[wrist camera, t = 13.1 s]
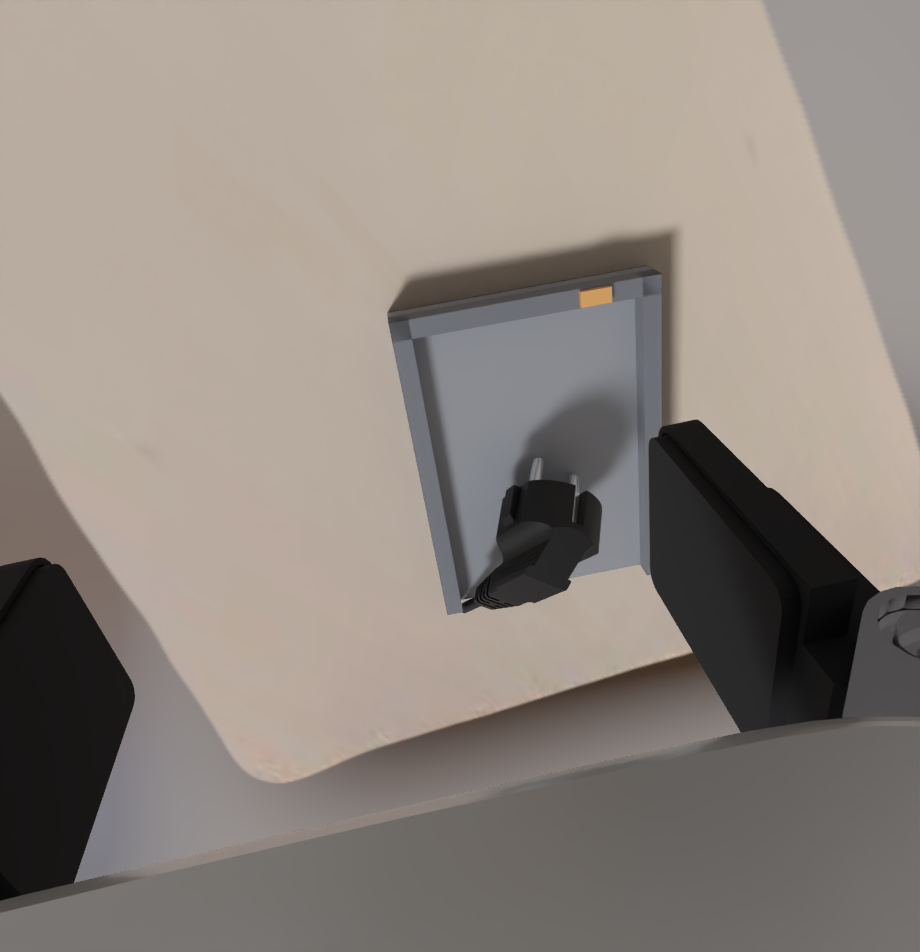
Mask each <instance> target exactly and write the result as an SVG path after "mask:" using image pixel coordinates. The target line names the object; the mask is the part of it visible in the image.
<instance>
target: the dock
mask: <svg viewBox="0 0 920 952" xmlns="http://www.w3.org/2000/svg"><path fill="white" fill-rule="evenodd" d="M387 315H388V323H389V328H390V333H391V338H392V343H393V348H394V353H395V358H396V363H397V368H398V372H399V377H400V382H401V387H402V392H403V397H404V402H405V407H406V412H407V417H408V422H409V427H410V432H411V437H412V442H413V447H414V452H415V457H416V462H417V467H418V471H419V476H420V481H421V486H422V491H423V496H424V501H425V506H426V511H427V516H428V521H429V526H430V531H431V536H432V541H433V546H434V551H435V556H436V561H437V565H438V570H439V575H440V580H441V585H442V590H443V595H444V600H445V605H446V610H447V615H450V614H455V613H460V612H463V609H462V604H461V600H463V599H468V598H473V597H475V592H476V588H477V587H478V586H479V585H480V584H481V583H482V582H483V581H484V580H485V579H486V578H487V577H488V576H489V575H490V574H491V573H492V572H493V571H494V570H495V569H496V568H497V567H498V566H499V565H501V564H502V562H503V556H502V553H501V551H500V549H499V547H498V544H497V542H496V535H497V529H498V523H499V517H500V511H501V506H502V500H503V498H504V497H505V494H506V490H507V489H509V488H510V487H511V486H513V485H517V486H519V487H520V486H522V485H523V484H525V483H526V482H528V481H529V476H530V469H531V463H532V459H533V458H534V457H535V456H541V457H543V458H544V460H545V465H544V473H543V480H555V481H561V482H566V483H567V477H568V475H569V474H570V473H573V472H575V473H578V474H579V476H580V487H579V493H583V492H585V491H589V492H590V493H592V494H593V495H594V496H595V497H596V498H597V499H598V500H599V501H600V503H601V505H602V519H601V531H600V543H599V552H598V554H596V555H594V556H592V557H590V558H588V559H586V560H583V561H581V562H579V563H578V564H577V566H576V567H575V569H574V571H573V572H572V574H571V576H570V577H569V578H573V577H578V576H583V575H588V574H593V573H598V572H604V571H609V570H614V569H619V568H624V567H629V566H634V565H639V564H640V565H641V566H642V568H643V570H644V571H645V573H646V574H647V575H650V574H651V572H650V529H649V451H648V448H649V441H650V439H651V438H654V437H658V434H659V430H660V428H661V427H662V274H661V273H659V272H657V271H656V270H654V269H652V268H650V267H648V266H644V267H638V268H633V269H627V270H622V271H616V272H611V273H605V274H600V275H594V276H589V277H583V278H578V279H572V280H566V281H561V282H555V283H550V284H544V285H539V286H533V287H528V288H522V289H517V290H511V291H506V292H500V293H495V294H489V295H484V296H478V297H473V298H467V299H461V300H456V301H450V302H445V303H439V304H434V305H428V306H423V307H417V308H412V309H406V310H401V311H395V312H390V313H387Z"/></svg>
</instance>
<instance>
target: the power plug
mask: <svg viewBox="0 0 920 952" xmlns="http://www.w3.org/2000/svg"><path fill="white" fill-rule="evenodd" d="M544 465H545V460H544V458H543V457H541V456H535V457H534V458H533V459H532V463H531V469H530V476H529V481H528V482H526V483H525V484H523V485H522V486H520V487H519V486H517V485H513V486H511V487H510V488H509V489H507V490H506V494H505V497H504V498H503V500H502V506H501V511H500V517H499V523H498V529H497V535H496V542H497V544H498V547H499V549H500V551H501V553H502V556H503V562H502V564H501V565H499V566H498V567H497V568H496V569H495V570H494V571H493V572H492V573H491V574H490V575H489V576H488V577H487V578H486V579H485V580H484V581H483V582H482V583H481V584H480V585H479V586H478V587H477V588H476V592H475V597H474V598H472V599H470V600H468V601H466V602H464V603H462V609H463V612H462V613H467V612H469V611H471V610H473V609H475V608H478V607H480V606H483V607H485V608H488V609H491V610H493V609H500V608H507V607H513V606H519V605H522V604H524V603H527V602H533V603H536V602H538V601H541V600H543V599H546V598H548V597H550V596H553V595H555V594H558V593H560V592H563V591H565V590H567V588H568V587H569V585H570V583H571V581H570V580H568V579H569V577H570V576H571V574H572V572H573V571H574V569H575V567H576V566H577V564H578V563H579V562H581V561H583V560H586V559H588V558H590V557H592V556H594V555H596V554H598V552H599V543H600V531H601V519H602V505H601V503H600V501H599V500H598V499H597V498H596V497H595V496H594V495H593V494H592V493H590V492H589V491H585V492H583V493H579V487H580V476H579V474H578V473H575V472H573V473H570V474H569V475H568V477H567V483H566V482H561V481H555V480H543V473H544Z"/></svg>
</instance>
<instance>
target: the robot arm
mask: <svg viewBox="0 0 920 952" xmlns="http://www.w3.org/2000/svg"><path fill="white" fill-rule="evenodd" d="M648 451H649V529H650V572H651V577H652V581H653V584H654V586H655V588H656V590H657V592H658V594H659V595H660V597H661V599H662V601H663V602H664V604H665V606H666V607H667V609H668V611H669V612H670V614H671V616H672V617H673V619H674V621H675V622H676V624H677V626H678V627H679V629H680V631H681V632H682V634H683V636H684V637H685V639H686V641H687V643H688V644H689V646H690V648H691V649H692V651H693V653H694V654H695V656H696V658H697V659H698V661H699V663H700V664H701V666H702V668H703V669H704V671H705V673H706V674H707V676H708V678H709V679H710V681H711V683H712V684H713V686H714V688H715V689H716V691H717V693H718V695H719V696H720V698H721V700H722V701H723V703H724V705H725V706H726V708H727V710H728V711H729V713H730V715H731V716H732V718H733V720H734V721H735V723H736V725H737V726H738V728H739V730H740V732H741V733H738V734H733V735H728V736H723V737H719V738H713V739H709V740H704V741H699V742H694V743H689V744H684V745H679V746H675V747H670V748H665V749H660V750H655V751H651V752H646V753H641V754H636V755H631V756H627V757H623V758H618V759H614V760H609V761H604V762H600V763H596V764H591V765H586V766H582V767H577V768H573V769H568V770H564V771H560V772H555V773H551V774H546V775H542V776H537V777H533V778H529V779H524V780H520V781H515V782H511V783H506V784H501V785H497V786H492V787H488V788H483V789H479V790H475V791H470V792H466V793H461V794H457V795H452V796H448V797H444V798H439V799H435V800H430V801H426V802H421V803H418V804H413V805H408V806H404V807H400V808H395V809H391V810H386V811H382V812H378V813H374V814H369V815H365V816H360V817H356V818H351V819H347V820H343V821H339V822H334V823H330V824H326V825H321V826H317V827H312V828H308V829H304V830H299V831H295V832H290V833H286V834H282V835H278V836H273V837H269V838H265V839H260V840H256V841H252V842H247V843H243V844H238V845H234V846H230V847H225V848H221V849H217V850H213V851H208V852H204V853H200V854H195V855H192V856H187V857H183V858H178V859H174V860H170V861H166V862H161V863H157V864H153V865H149V866H144V867H140V868H136V869H132V870H128V871H123V872H119V873H115V874H110V875H106V876H102V877H98V878H94V879H89V880H85V881H81V882H76V883H74V880H75V877H76V875H77V872H78V869H79V866H80V863H81V859H82V857H83V854H84V851H85V848H86V845H87V842H88V839H89V836H90V833H91V830H92V827H93V824H94V821H95V818H96V815H97V812H98V809H99V806H100V804H101V801H102V797H103V795H104V792H105V789H106V786H107V782H108V780H109V777H110V774H111V771H112V768H113V765H114V762H115V759H116V756H117V753H118V750H119V747H120V744H121V741H122V738H123V735H124V732H125V729H126V726H127V723H128V720H129V717H130V715H131V712H132V708H133V705H134V700H135V693H134V687H133V684H132V682H131V679H130V678H129V676H128V674H127V673H126V671H125V669H124V668H123V666H122V664H121V663H120V661H119V659H118V658H117V656H116V654H115V653H114V651H113V649H112V648H111V646H110V644H109V643H108V641H107V639H106V638H105V636H104V634H103V633H102V631H101V629H100V628H99V626H98V624H97V623H96V621H95V620H94V618H93V616H92V614H91V613H90V611H89V609H88V608H87V606H86V604H85V603H84V601H83V599H82V598H81V596H80V594H79V593H78V591H77V589H76V588H75V586H74V584H73V583H72V581H71V579H70V578H69V576H68V575H67V573H66V571H65V570H64V568H63V567H61V566H60V565H58V564H51V563H50V562H49V561H48V560H46V559H45V558H35V559H31V560H27V561H21V562H16V563H12V564H7V565H3V566H0V952H920V587H918V586H910V587H895V588H892V589H888V590H885V591H882V592H880V591H879V590H878V589H877V588H876V587H874V586H873V585H872V584H871V583H870V582H869V581H868V580H867V579H866V578H865V577H864V576H863V575H862V574H861V573H860V572H859V571H858V570H857V569H856V568H855V567H854V566H853V565H852V564H851V563H850V562H849V561H848V560H847V559H846V558H845V557H844V556H843V555H842V554H841V553H840V552H839V551H838V550H837V549H836V548H835V547H834V546H833V545H832V544H831V543H829V542H828V541H827V540H826V539H825V538H824V537H823V536H822V535H821V534H820V533H819V532H818V531H817V530H816V529H815V528H814V527H813V526H812V525H811V524H810V523H809V522H808V521H807V520H806V519H805V518H804V517H803V516H802V515H801V514H800V513H799V512H798V511H797V510H796V509H795V508H794V507H793V506H792V505H791V504H790V503H789V502H788V501H787V500H785V499H784V498H783V497H782V496H781V495H780V494H779V493H778V492H777V491H775V490H774V489H772V488H767V487H766V486H765V485H764V484H763V483H762V482H761V481H760V480H759V479H758V478H757V477H756V476H755V475H754V474H753V473H752V472H751V471H750V470H749V469H748V468H747V467H746V466H745V465H744V464H743V463H742V462H741V461H740V460H739V459H738V458H737V457H736V456H735V455H734V454H733V453H732V452H731V451H730V450H729V449H728V448H727V447H726V446H725V445H724V444H723V443H722V442H721V441H720V440H719V439H718V438H717V437H716V436H715V435H714V434H713V433H712V432H711V431H710V430H709V429H708V428H707V427H706V426H705V425H704V424H703V423H702V422H700V421H699V420H691V421H687V422H682V423H677V424H672V425H668V426H663V427H661V428H660V430H659V434H658V437H654V438H651V439H650V441H649V448H648Z"/></svg>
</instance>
